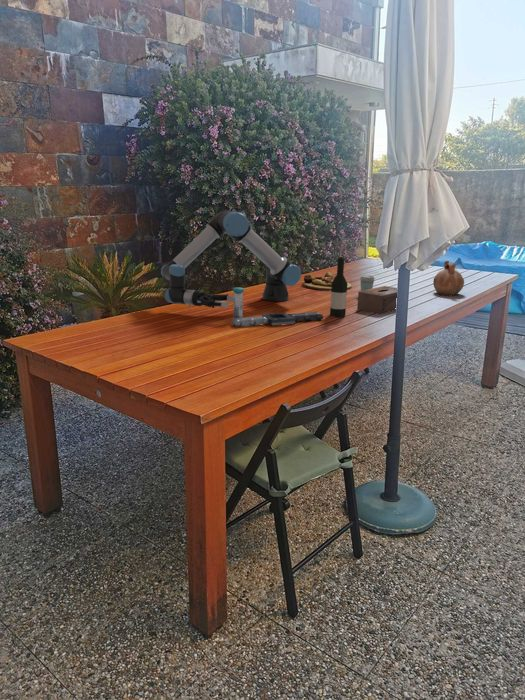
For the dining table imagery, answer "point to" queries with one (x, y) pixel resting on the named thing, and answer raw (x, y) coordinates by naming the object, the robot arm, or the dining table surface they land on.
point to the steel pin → (238, 302)
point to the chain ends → (276, 319)
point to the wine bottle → (339, 291)
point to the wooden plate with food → (320, 282)
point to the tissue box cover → (377, 299)
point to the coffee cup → (366, 282)
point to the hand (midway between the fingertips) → (233, 302)
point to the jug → (448, 280)
